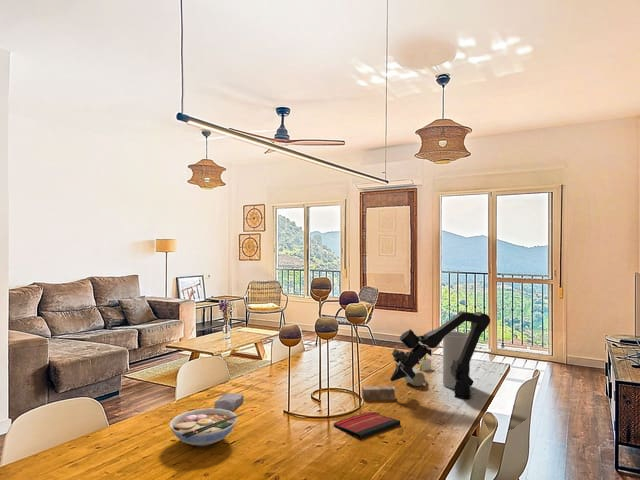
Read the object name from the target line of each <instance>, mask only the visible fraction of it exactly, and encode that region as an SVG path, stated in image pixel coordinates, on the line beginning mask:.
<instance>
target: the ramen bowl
mask: <svg viewBox="0 0 640 480" xmlns="http://www.w3.org/2000/svg"><path fill="white" fill-rule="evenodd" d="M241 416H244V412H242V413H240V414H236V413H235V412H233V411H232V410H223V409H216V408H210V407H208V408H199V409H194V410H190V411H185V412H182V413H180V414H179V415H176V416H175V417H173V419H170V422H169V427H170V430H171V431H172V433H173V434H174V435H175V437H177V438H178V439H179V440H180V442H183V443H184V444H187V445H190V446H191V445H192V446H197V447H208V446H210V445H212V444H215V443H219V442H220V441H222V440H223V439H225V438H226V437H227V436H228V435H229V434H230V433H231V432H232V430H233V429H234V427H235V426H236V424H237V422H238V420H239V419H238V417H241Z"/></svg>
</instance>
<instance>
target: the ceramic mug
mask: <svg viewBox="0 0 640 480" xmlns="http://www.w3.org/2000/svg"><path fill="white" fill-rule="evenodd" d="M412 369H413V371H414V373H415V377H414V378H413V379H411V378H410V377H409V376H408V377H404V380H405V382H406V383H408V384H411V385H413V386H414V387H421V386H423V384H425V385H427V384H428V380H426V379H425V378H426V377H425V375H424V373H423V371H421V370H418V369H417V368H415V367H413V368H412Z"/></svg>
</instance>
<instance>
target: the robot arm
mask: <svg viewBox="0 0 640 480" xmlns="http://www.w3.org/2000/svg"><path fill="white" fill-rule="evenodd" d="M464 322H469V323H470V331H469V333H468V334H469V336H468V338H467V341H466V343H465V346H464V348H463V351H462V353H461V356H460V358H459V359H458V360H457V361H455V360H453V363H452V366H451V367H450V368H451V374H452V376H453V377H454V378H455V380H456V381H457V382H456V385H455V389H454V397H455V398H458V399H465V400H470V399H471V398H472V397H473V394H472V386H473V384H474V380H473V378H471V377H469V376H468V375H469V363H470V364H471V360H472V358H473V356H474V352H475V350H476V348H477V345H478V342H479V340H480V337H481V335H482V334H483V333H484V332H485V331H486V330H487V329H488V327H489V325H490V324H491V318H490V316H489V315H488V314H487V313H484V312H481V311H475V312H467V311H462V310H461V311H458V312H457V313H456V314H455V315H454V316H453V317H451V318H450V319H448V320H447V321H446V322H444V323H443V324H442V325H440V326H439V327H437V328H435V329H432V330H430V331H428V332H426V333H424V334H423V335H419V336H417V334H415V332H414V330H412V329H408V330H406V331H405V332H403V333H402V334H401V335H400V337H399V341H400V342H401V343H403V345H404V346H405V347H406V348H407V349H411V350H410V351H406V352H405V351H403V350H399V349H397V348H393V350H392V353H391V356H392V357H393V361H394V362H395V370H394V371H393V373H392V375H391V377H390V379H389V380H390V382H394V381H397V380H400V379H403V378H404V377H408V376H409V377H410V378H411V379H413V378H414V377H415V373H414V371H413V369H412V368H415V366H416V365H420V362H421V361H420V360H422V358H424V356H425V355H426V356H427V355H428V356H430V357H432V356H433V354H432V352H433V351H432V349H435V348H437V347H438V346H439V345H440V344H441V343H442V342H443V338H444V337H445V336H446V335H447V334H448V333H450V332H453V331H454V330H455V329H457V328H458V327H459V326H461V325H462V324H463V323H464Z"/></svg>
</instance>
